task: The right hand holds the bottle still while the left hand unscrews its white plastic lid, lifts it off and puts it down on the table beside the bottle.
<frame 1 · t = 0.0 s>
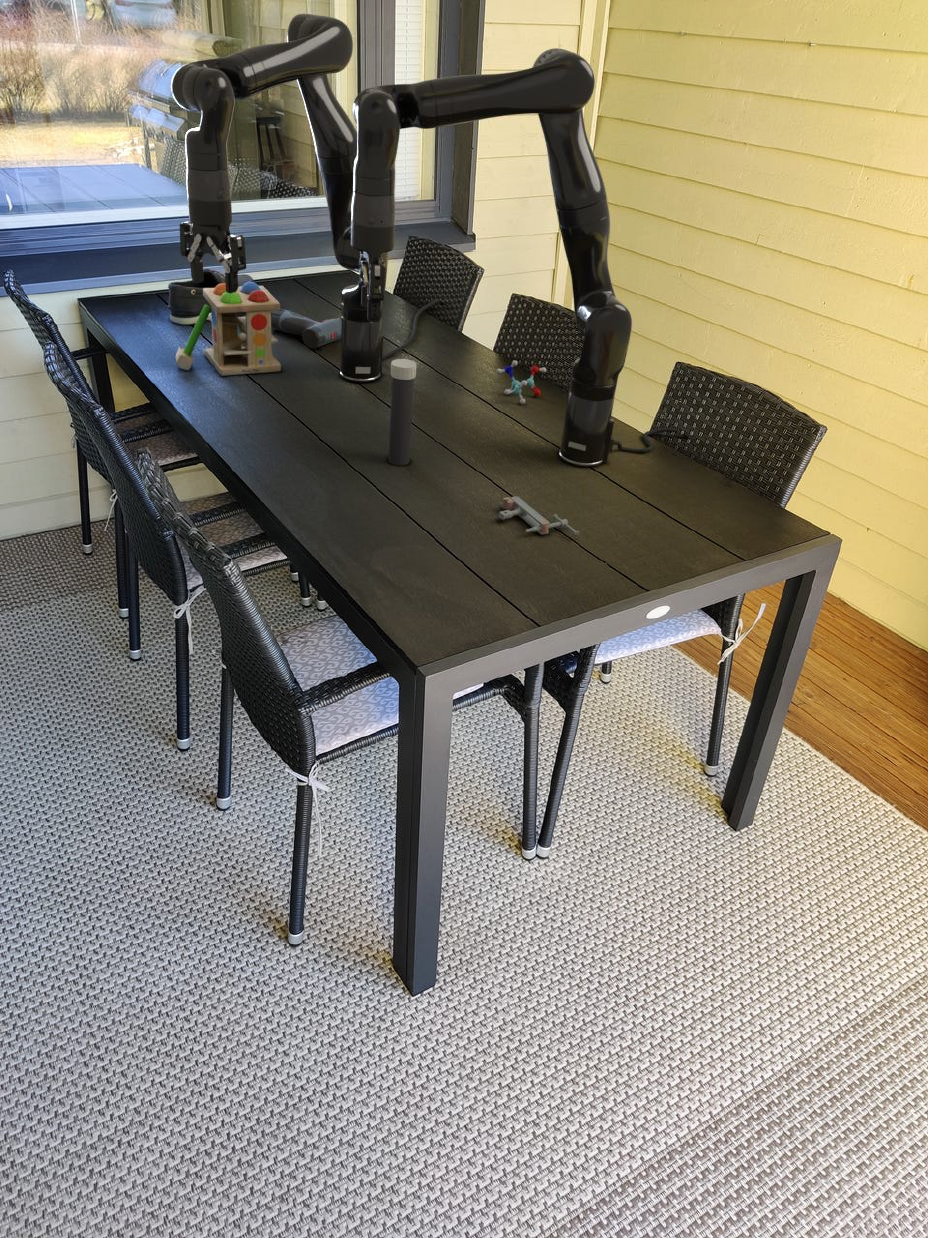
left hand: (214, 287, 183), 29 cm above the table, tool pointing down, fingers open, 8 cm apart
right hand: (370, 313, 178), 29 cm above the table, tool pointing down, fingers open, 8 cm apart
molecular model: (517, 396, 229), on the table
boat shoe: (215, 308, 264), on the table
power drill: (311, 334, 253), on the table
pounding bench toy: (225, 365, 230), on the table
lid: (403, 364, 184), point 20 cm above the table, screwed on, not yet turned
clamp: (533, 525, 178), on the table
bottle: (399, 460, 196), on the table
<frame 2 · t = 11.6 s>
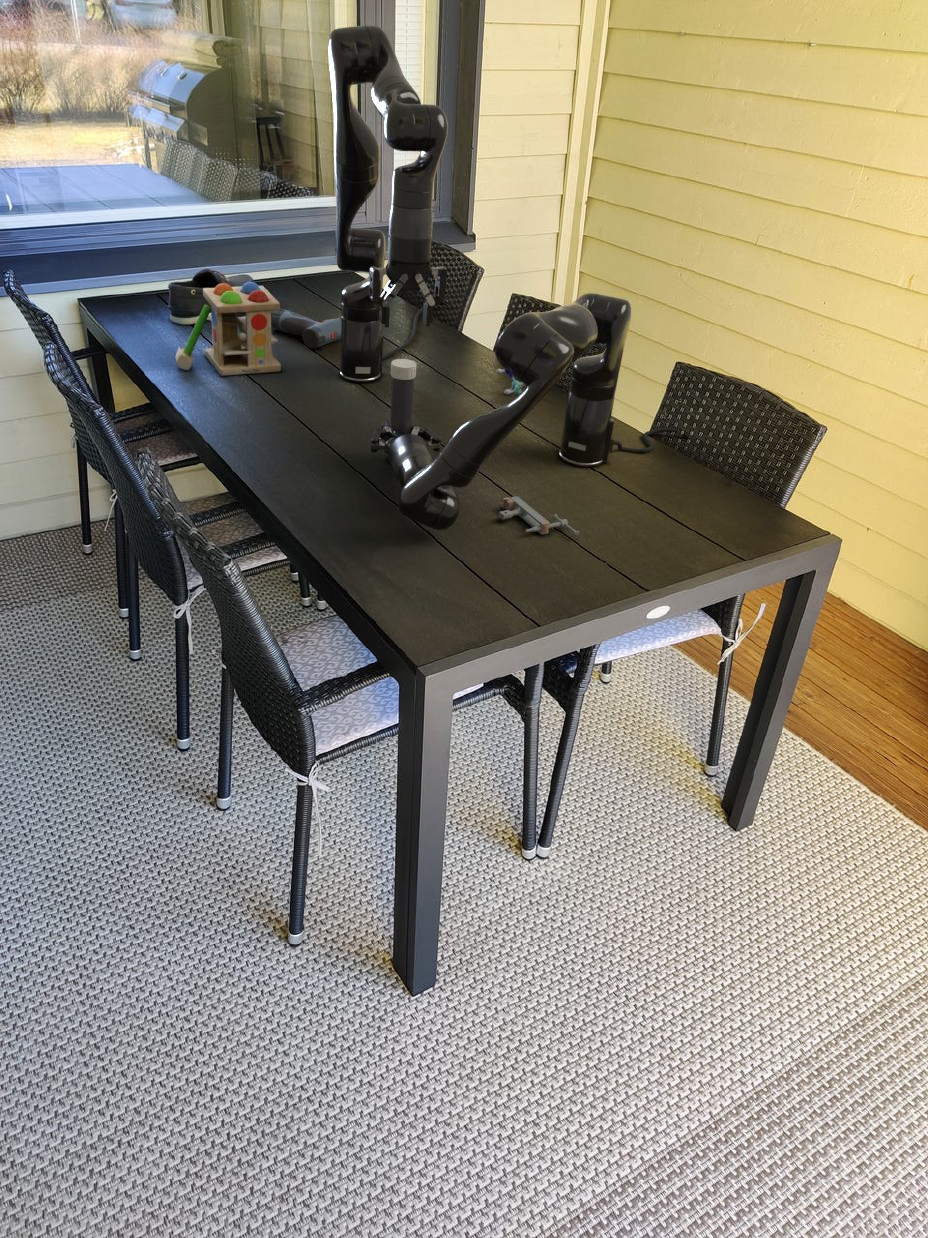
left hand: (405, 325, 180), 27 cm above the table, tool pointing down, fingers open, 7 cm apart
right hand: (398, 424, 194), 6 cm above the table, tool horizontal, fingers closed on bottle, 4 cm apart
bottle: (399, 460, 196), on the table, touching right hand
everything else where it was.
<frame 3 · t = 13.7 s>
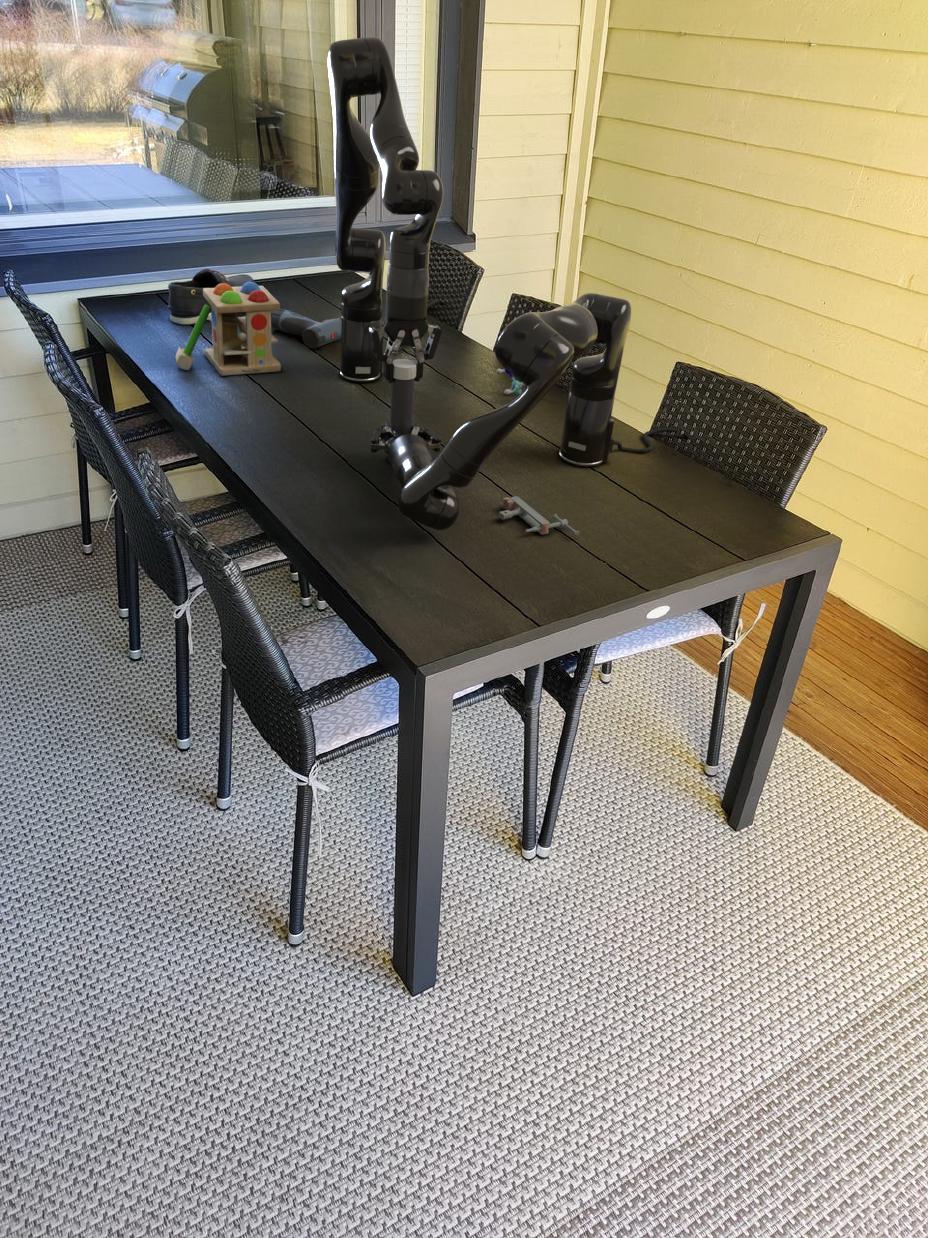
left hand: (402, 380, 186), 17 cm above the table, tool pointing down, fingers closed on lid, 4 cm apart
right hand: (398, 424, 194), 6 cm above the table, tool horizontal, fingers closed on bottle, 4 cm apart
lid: (403, 364, 184), point 20 cm above the table, screwed on, not yet turned, touching left hand
bottle: (399, 460, 196), on the table, touching right hand
everything else where it was.
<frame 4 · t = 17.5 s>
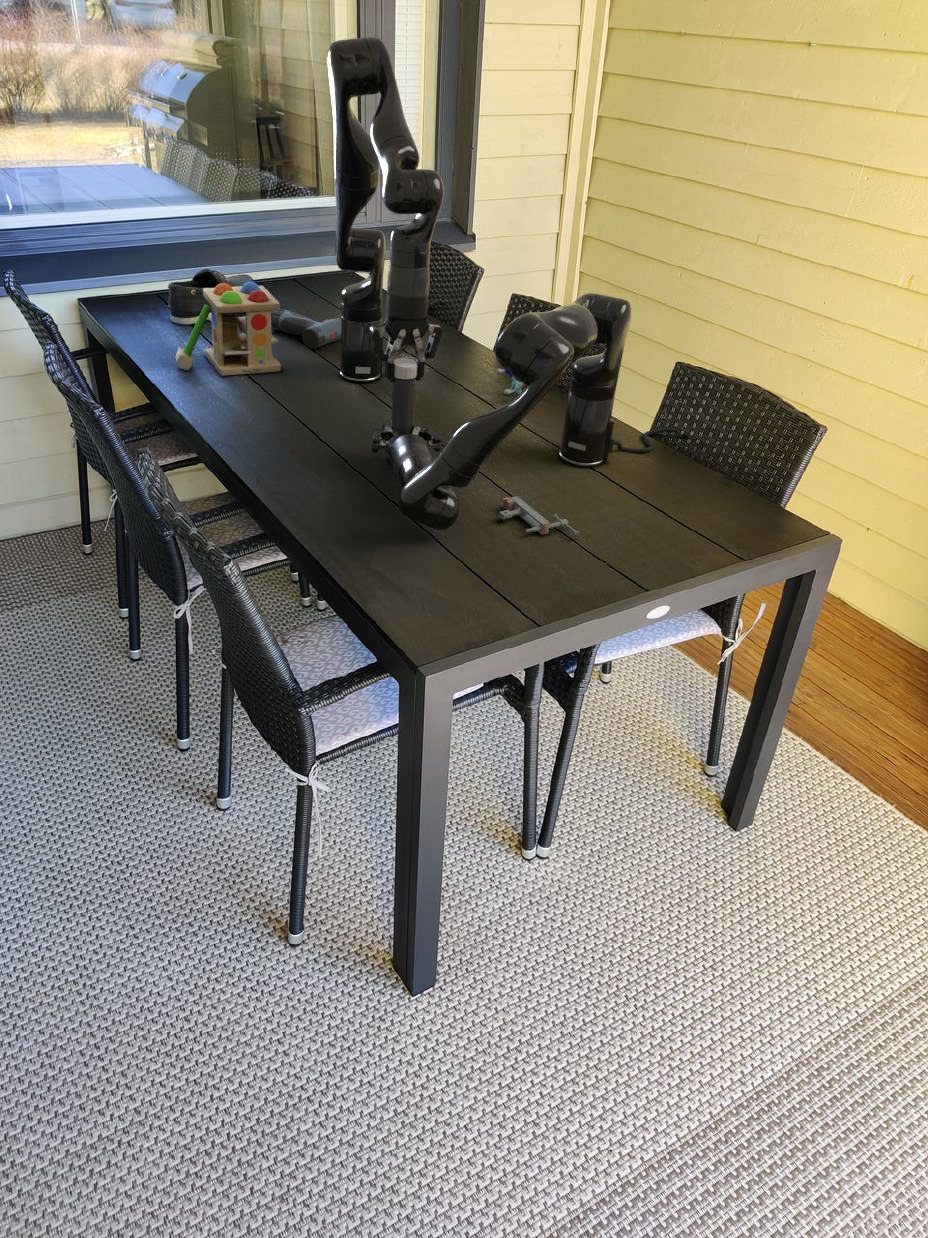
left hand: (403, 379, 186), 17 cm above the table, tool pointing down, fingers closed on lid, 4 cm apart
right hand: (399, 424, 194), 7 cm above the table, tool horizontal, fingers closed on bottle, 4 cm apart
lid: (404, 364, 184), point 20 cm above the table, turned 103° so far, risen 0.1 cm, still on its thread, touching left hand
bottle: (399, 460, 196), on the table, touching right hand
everything else where it was.
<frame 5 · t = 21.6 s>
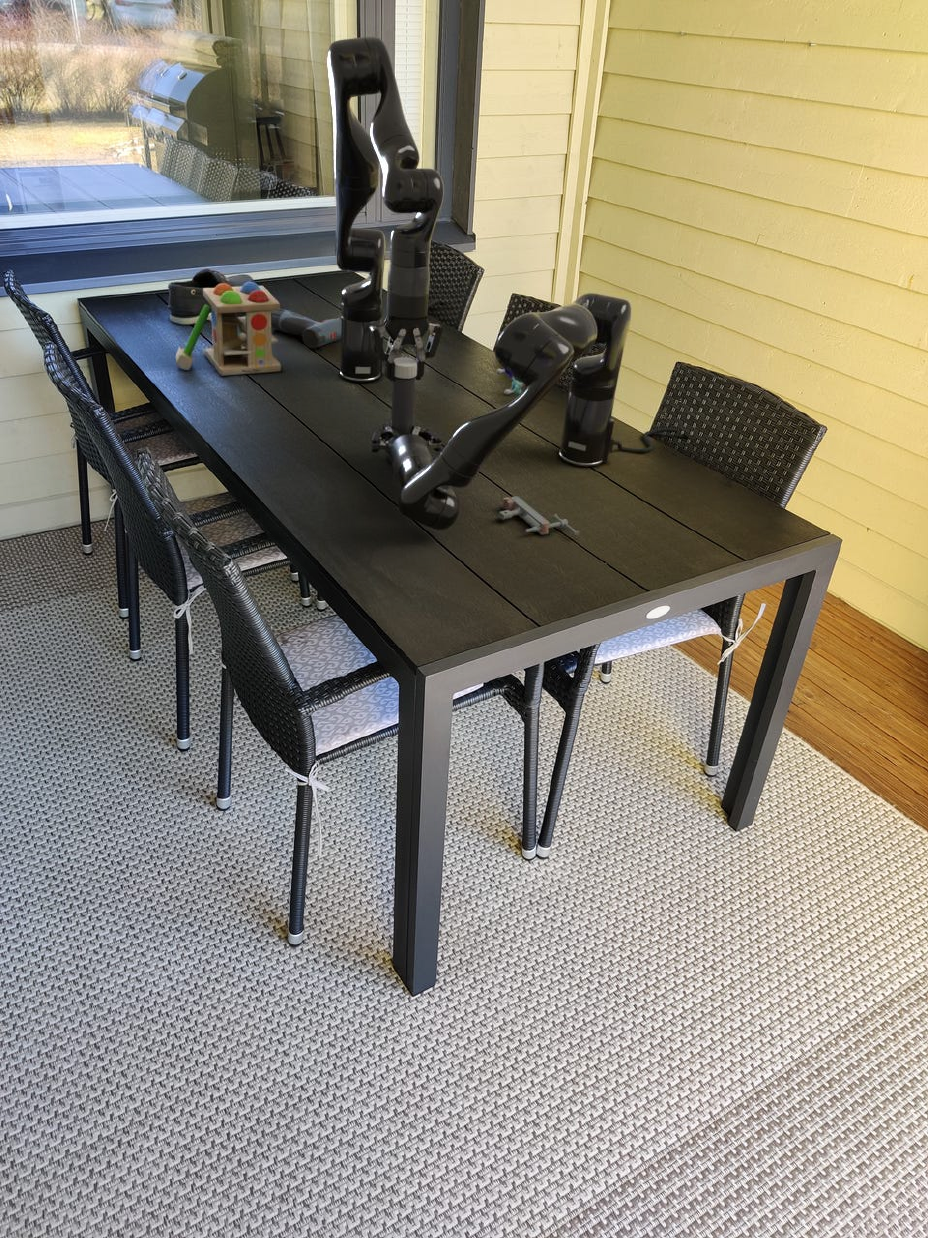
left hand: (403, 378, 186), 17 cm above the table, tool pointing down, fingers closed on lid, 4 cm apart
right hand: (399, 424, 194), 7 cm above the table, tool horizontal, fingers closed on bottle, 4 cm apart
lid: (404, 363, 184), point 20 cm above the table, turned 206° so far, risen 0.2 cm, still on its thread, touching left hand
bottle: (400, 460, 196), on the table, touching right hand
everything else where it was.
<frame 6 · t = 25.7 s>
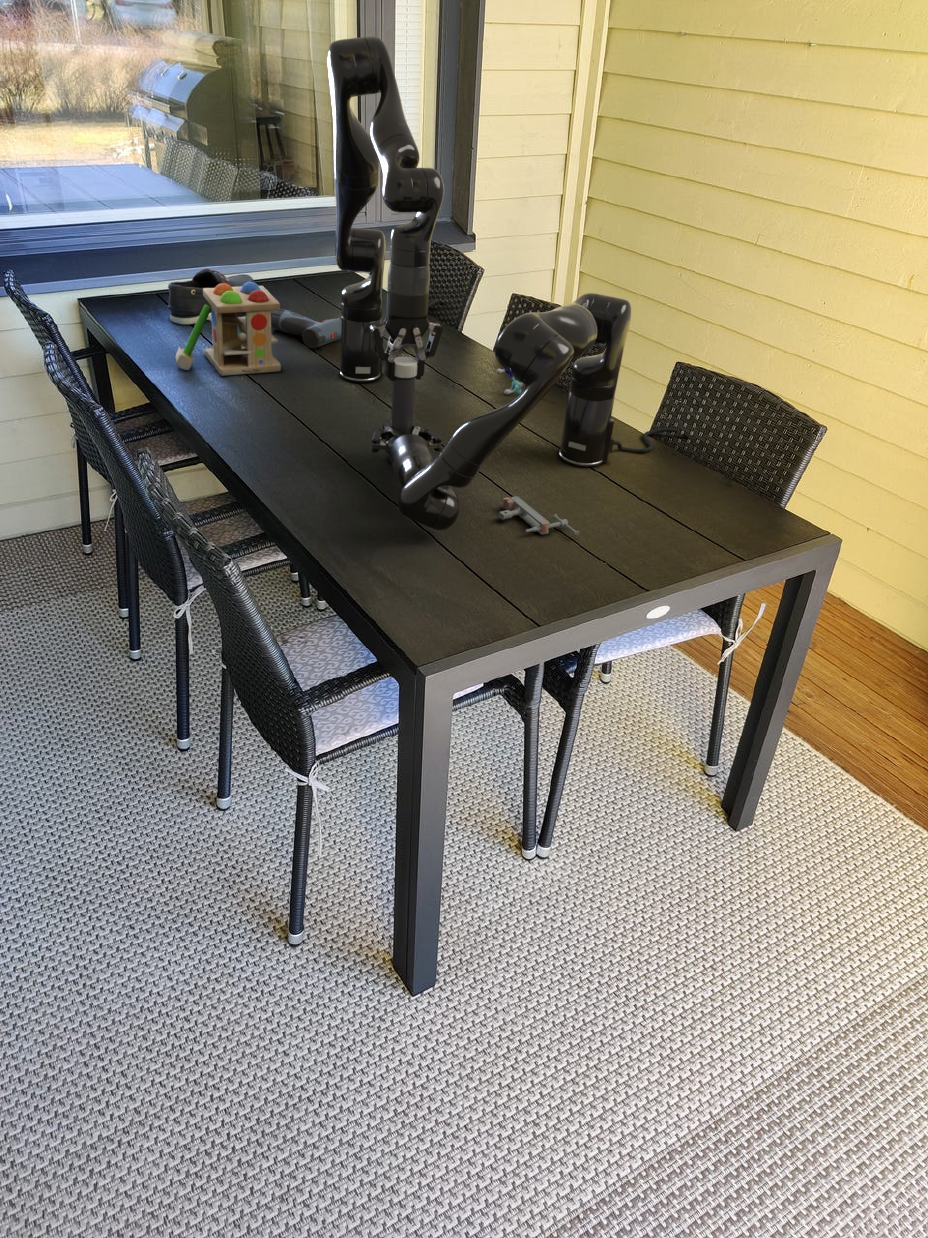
left hand: (404, 378, 186), 17 cm above the table, tool pointing down, fingers closed on lid, 4 cm apart
right hand: (399, 424, 194), 7 cm above the table, tool horizontal, fingers closed on bottle, 4 cm apart
lid: (404, 362, 184), point 20 cm above the table, turned 309° so far, risen 0.4 cm, still on its thread, touching left hand
bottle: (400, 460, 196), on the table, touching right hand
everything else where it was.
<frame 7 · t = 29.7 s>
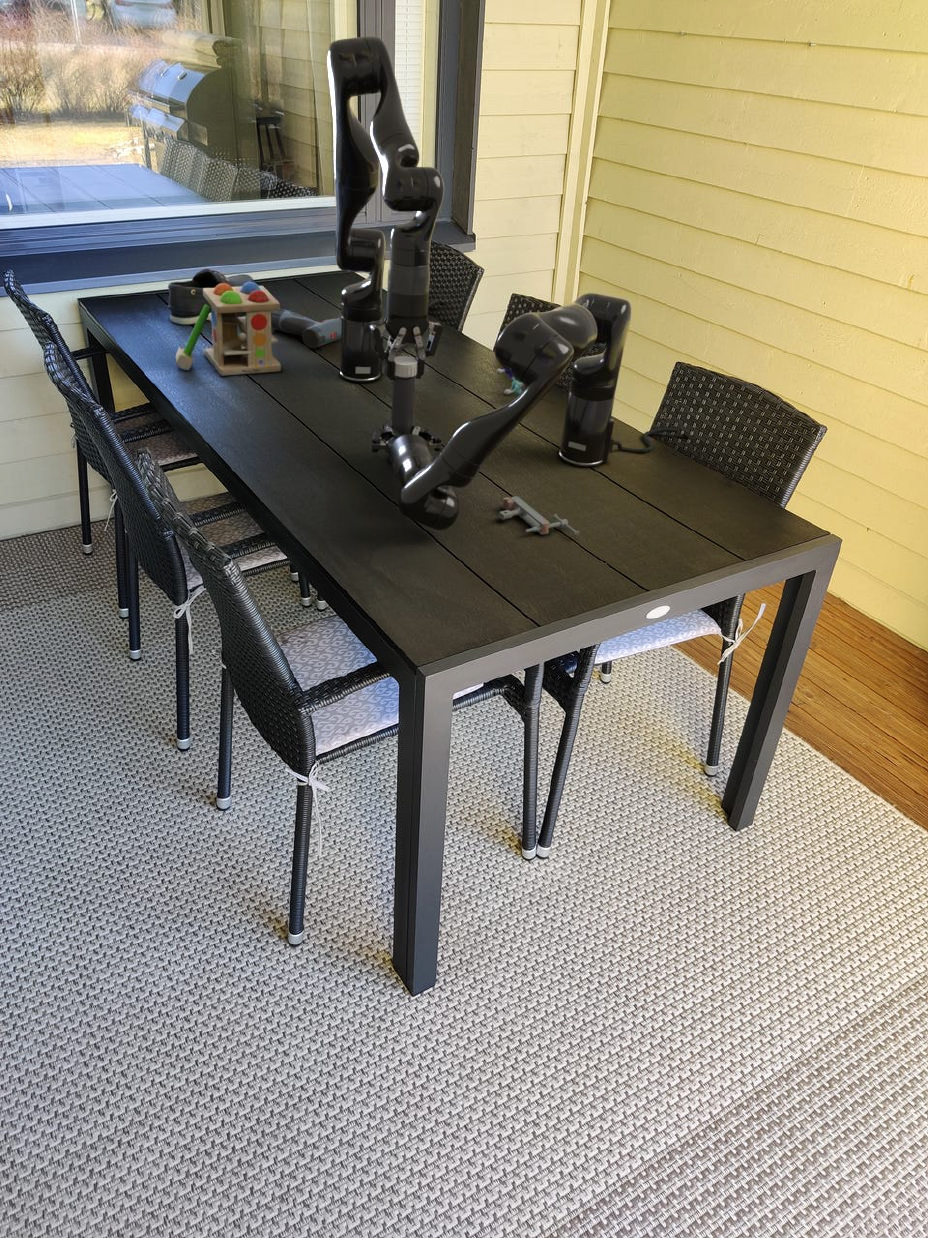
left hand: (404, 377, 186), 17 cm above the table, tool pointing down, fingers closed on lid, 4 cm apart
right hand: (399, 424, 194), 7 cm above the table, tool horizontal, fingers closed on bottle, 4 cm apart
lid: (404, 362, 184), point 20 cm above the table, turned 412° so far, risen 0.5 cm, still on its thread, touching left hand
bottle: (400, 460, 196), on the table, touching right hand
everything else where it was.
when the left hand's fingers open (1 cm above the table, at t = 36.6 s): lid drops 2 cm, point 2 cm above the table.
when the right hand's fingers open (7 cm above the table, at t = 37.6 s): bottle stays where it is, on the table.
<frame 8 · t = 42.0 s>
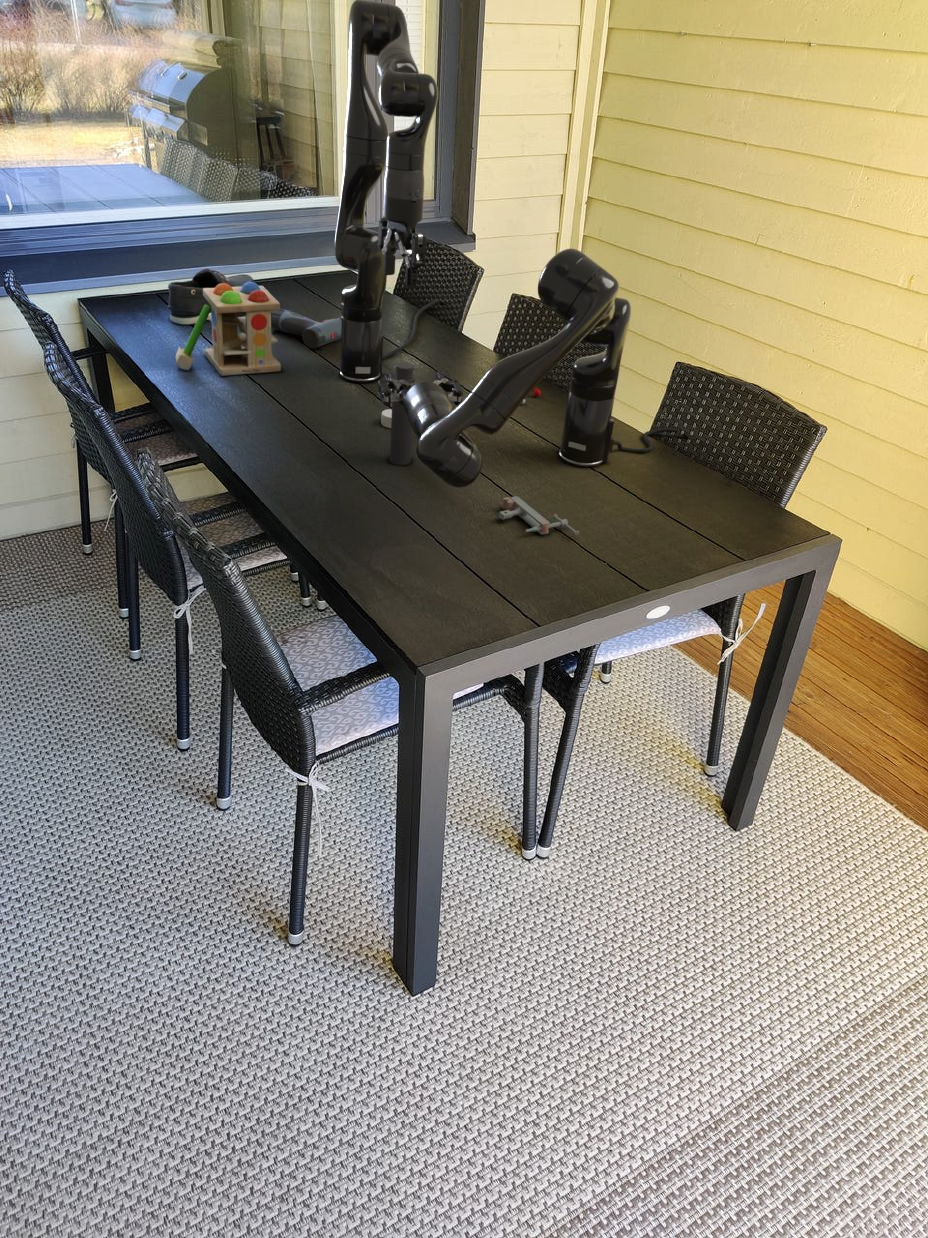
left hand: (399, 280, 194), 30 cm above the table, tool pointing down, fingers open, 8 cm apart
right hand: (413, 376, 175), 21 cm above the table, tool horizontal, fingers open, 8 cm apart
lid: (392, 414, 209), point 2 cm above the table, off its thread
bottle: (400, 460, 196), on the table
everything else where it was.
at the end: lid came off its thread; lid point 2.0 cm above the table; the left hand is holding nothing; the right hand is holding nothing; bottle tilted 0°; bottle moved 0.3 cm from its start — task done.
